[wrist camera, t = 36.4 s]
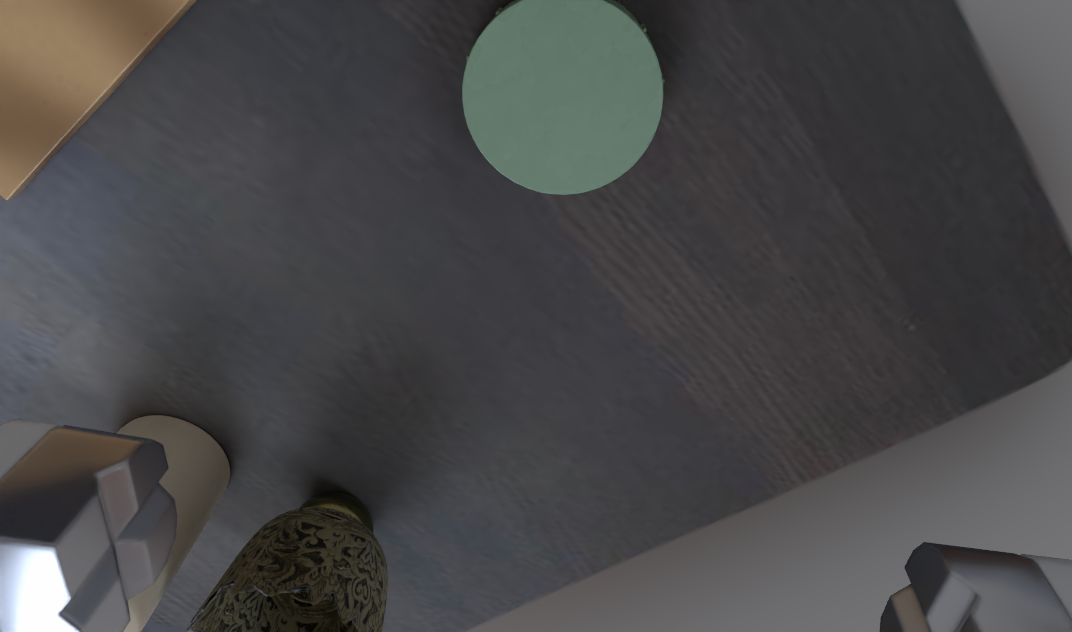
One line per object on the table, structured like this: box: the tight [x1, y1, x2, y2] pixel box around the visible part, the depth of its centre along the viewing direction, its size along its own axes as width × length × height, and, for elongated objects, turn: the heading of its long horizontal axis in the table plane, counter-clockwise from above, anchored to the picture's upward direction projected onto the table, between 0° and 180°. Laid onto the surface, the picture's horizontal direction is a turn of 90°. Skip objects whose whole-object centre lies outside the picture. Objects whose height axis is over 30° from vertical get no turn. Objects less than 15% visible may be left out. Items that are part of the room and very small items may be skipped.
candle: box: [117, 415, 230, 632], centre depth 31 cm, size 6×6×10 cm
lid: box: [462, 0, 665, 195], centre depth 25 cm, size 7×7×2 cm
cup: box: [187, 492, 388, 632], centre depth 33 cm, size 8×7×8 cm
